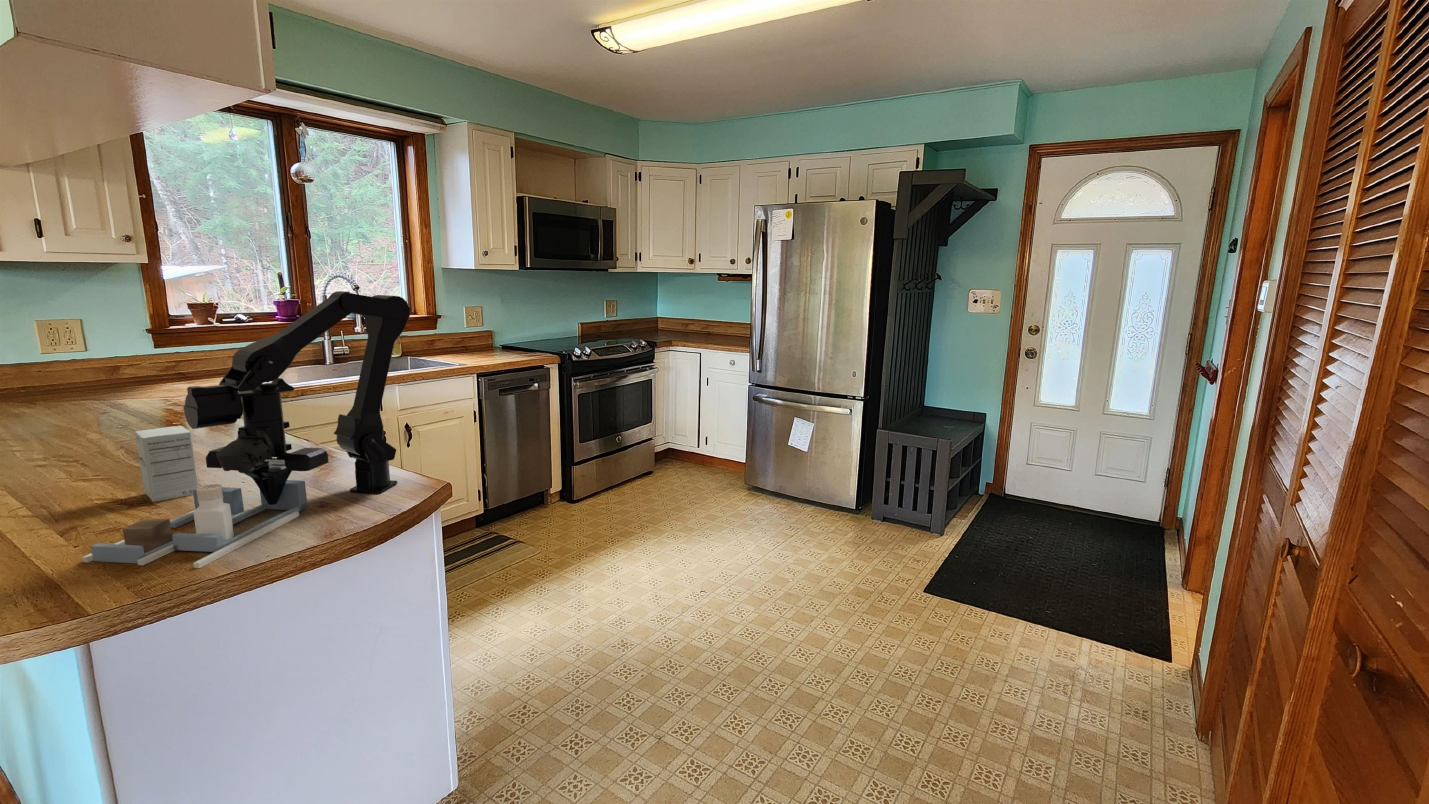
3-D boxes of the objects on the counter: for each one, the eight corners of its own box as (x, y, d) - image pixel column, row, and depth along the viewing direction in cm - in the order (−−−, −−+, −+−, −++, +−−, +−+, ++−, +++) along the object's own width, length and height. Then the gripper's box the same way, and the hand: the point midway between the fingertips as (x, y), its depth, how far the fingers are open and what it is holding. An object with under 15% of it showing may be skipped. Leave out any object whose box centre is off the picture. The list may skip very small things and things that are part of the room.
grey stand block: (270, 504, 119) (267, 479, 118) (307, 506, 119) (304, 480, 118) (174, 549, 100) (169, 519, 99) (218, 552, 99) (214, 521, 98)
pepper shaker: (205, 540, 104) (197, 484, 102) (235, 537, 106) (228, 482, 104) (197, 550, 100) (188, 492, 99) (228, 546, 102) (220, 489, 100)
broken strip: (206, 512, 116) (202, 486, 115) (244, 514, 115) (241, 487, 114) (93, 560, 96) (87, 529, 95) (139, 563, 96) (133, 531, 95)
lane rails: (202, 511, 116) (201, 507, 116) (299, 515, 115) (298, 511, 115) (82, 562, 96) (81, 557, 96) (199, 568, 95) (198, 563, 94)
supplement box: (143, 493, 125) (133, 430, 122) (191, 485, 130) (182, 424, 128) (151, 503, 120) (140, 437, 117) (200, 493, 125) (191, 430, 123)
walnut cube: (146, 542, 103) (142, 519, 102) (173, 542, 104) (169, 518, 103) (126, 553, 99) (122, 529, 98) (154, 552, 100) (150, 528, 99)
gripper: (172, 427, 105) (184, 517, 108) (281, 431, 104) (290, 522, 107) (227, 413, 116) (237, 496, 119) (326, 417, 115) (334, 500, 118)
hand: (273, 504), depth 115 cm, fingers closed, pressing on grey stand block
